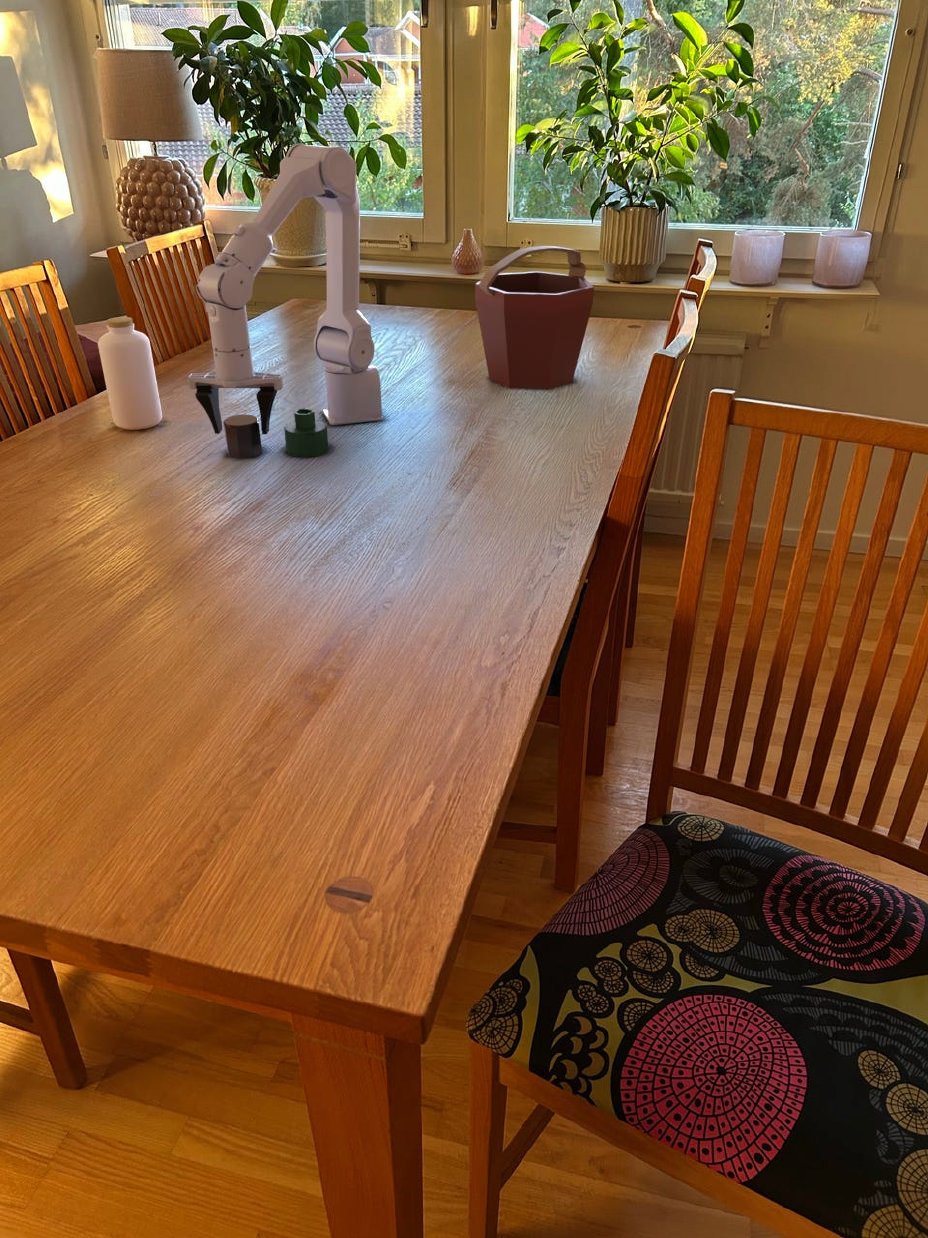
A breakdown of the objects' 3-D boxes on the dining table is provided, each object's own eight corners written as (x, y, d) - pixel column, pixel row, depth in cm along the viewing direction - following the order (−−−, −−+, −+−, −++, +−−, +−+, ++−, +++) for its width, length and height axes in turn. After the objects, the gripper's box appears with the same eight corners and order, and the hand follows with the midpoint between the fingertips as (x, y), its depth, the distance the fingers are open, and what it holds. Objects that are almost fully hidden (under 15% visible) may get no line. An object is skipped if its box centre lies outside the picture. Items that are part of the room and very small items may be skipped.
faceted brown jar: (259, 444, 155) (255, 412, 152) (263, 456, 150) (260, 423, 147) (226, 448, 153) (221, 416, 150) (229, 459, 149) (225, 426, 146)
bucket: (566, 358, 200) (574, 235, 187) (612, 388, 182) (623, 253, 169) (459, 368, 194) (459, 241, 181) (495, 400, 176) (498, 261, 163)
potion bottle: (172, 418, 166) (155, 315, 156) (144, 434, 159) (124, 327, 150) (133, 414, 168) (114, 312, 159) (104, 428, 161) (82, 323, 152)
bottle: (323, 440, 157) (320, 403, 153) (332, 454, 151) (329, 415, 148) (283, 445, 155) (279, 407, 151) (290, 459, 149) (286, 420, 146)
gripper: (177, 353, 140) (190, 439, 147) (273, 354, 139) (281, 441, 146) (190, 341, 146) (202, 425, 153) (282, 342, 145) (290, 426, 152)
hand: (242, 431), depth 150 cm, fingers open, 7 cm apart
